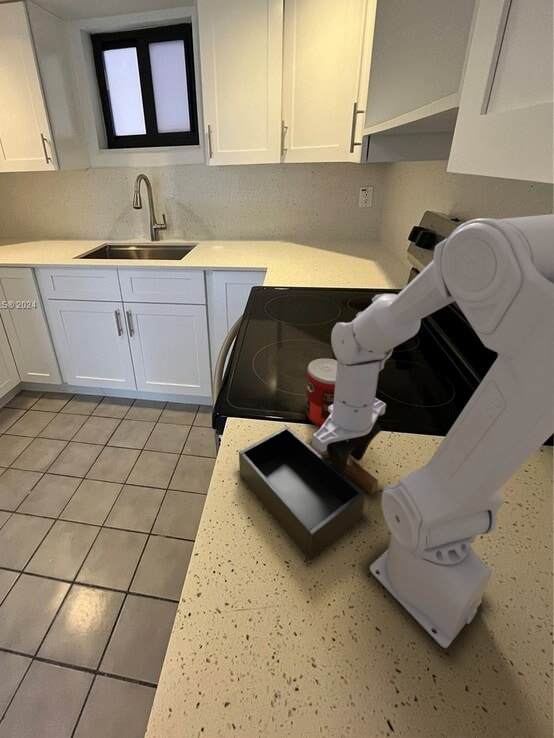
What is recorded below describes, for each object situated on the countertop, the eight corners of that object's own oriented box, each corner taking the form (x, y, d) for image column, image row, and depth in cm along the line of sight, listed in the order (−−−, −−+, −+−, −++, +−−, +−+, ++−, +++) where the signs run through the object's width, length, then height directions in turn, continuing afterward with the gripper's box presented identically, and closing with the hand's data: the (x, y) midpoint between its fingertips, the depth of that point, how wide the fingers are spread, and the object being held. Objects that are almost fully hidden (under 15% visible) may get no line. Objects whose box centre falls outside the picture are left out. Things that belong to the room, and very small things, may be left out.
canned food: (315, 398, 76) (318, 353, 71) (352, 413, 71) (357, 366, 66) (297, 417, 70) (300, 371, 66) (336, 435, 65) (341, 386, 61)
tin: (361, 518, 51) (365, 493, 49) (310, 560, 46) (312, 534, 44) (286, 447, 63) (287, 425, 61) (239, 474, 58) (238, 452, 56)
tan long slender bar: (382, 486, 55) (383, 476, 54) (365, 499, 53) (367, 489, 52) (322, 438, 65) (323, 429, 64) (306, 447, 63) (307, 438, 62)
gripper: (363, 367, 59) (355, 430, 65) (299, 399, 52) (296, 466, 58) (402, 387, 54) (389, 454, 59) (336, 426, 47) (329, 498, 52)
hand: (346, 462), depth 58 cm, fingers open, 4 cm apart
